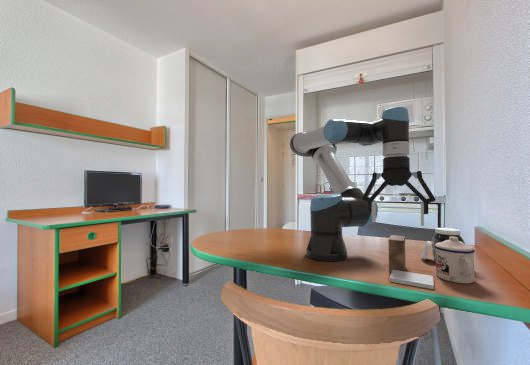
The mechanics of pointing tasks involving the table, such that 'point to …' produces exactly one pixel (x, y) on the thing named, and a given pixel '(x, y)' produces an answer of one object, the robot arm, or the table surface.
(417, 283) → the grey board
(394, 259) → the walnut slab
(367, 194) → the robot arm
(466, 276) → the teacup with lid
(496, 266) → the table surface
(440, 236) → the spread jar
